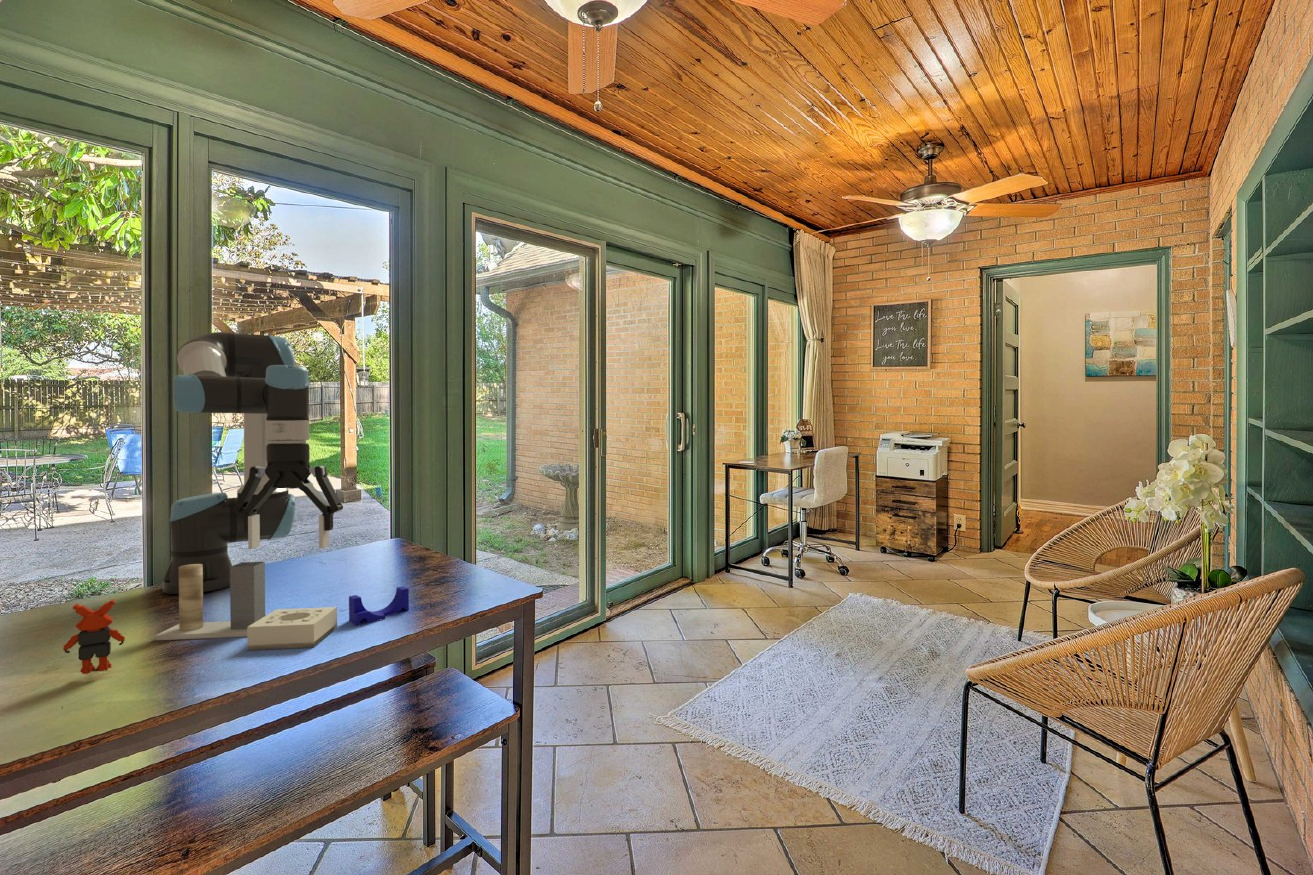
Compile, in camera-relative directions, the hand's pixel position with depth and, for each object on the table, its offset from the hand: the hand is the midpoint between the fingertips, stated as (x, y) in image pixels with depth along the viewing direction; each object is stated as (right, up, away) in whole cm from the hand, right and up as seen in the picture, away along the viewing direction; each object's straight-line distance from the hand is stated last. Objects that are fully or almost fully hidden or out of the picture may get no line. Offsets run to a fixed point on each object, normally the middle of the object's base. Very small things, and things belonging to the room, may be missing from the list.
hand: (289, 547), depth 127 cm
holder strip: (-17, -19, +4) cm, 26 cm away
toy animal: (-25, -19, -16) cm, 35 cm away
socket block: (+1, -18, 0) cm, 18 cm away
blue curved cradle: (+13, -19, +13) cm, 26 cm away
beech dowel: (-23, -18, +4) cm, 29 cm away
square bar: (-12, -17, +5) cm, 22 cm away
